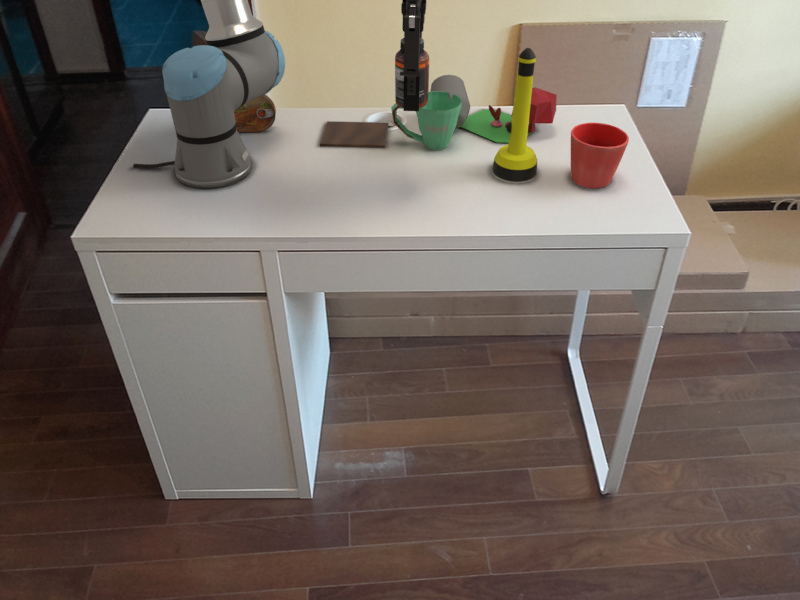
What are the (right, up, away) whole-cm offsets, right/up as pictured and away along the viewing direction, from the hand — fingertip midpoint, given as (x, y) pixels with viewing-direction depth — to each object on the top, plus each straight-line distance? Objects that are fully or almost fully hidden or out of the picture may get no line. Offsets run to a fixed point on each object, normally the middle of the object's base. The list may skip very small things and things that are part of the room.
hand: (412, 102), depth 123 cm
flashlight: (+21, -10, +16) cm, 28 cm away
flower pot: (+36, -12, +14) cm, 40 cm away
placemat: (-12, +1, +29) cm, 32 cm away
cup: (+9, +3, +27) cm, 29 cm away
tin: (-37, +3, +32) cm, 49 cm away
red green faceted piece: (+22, +3, +31) cm, 38 cm away
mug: (+3, -2, +26) cm, 26 cm away
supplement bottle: (0, 0, 0) cm, 0 cm away
